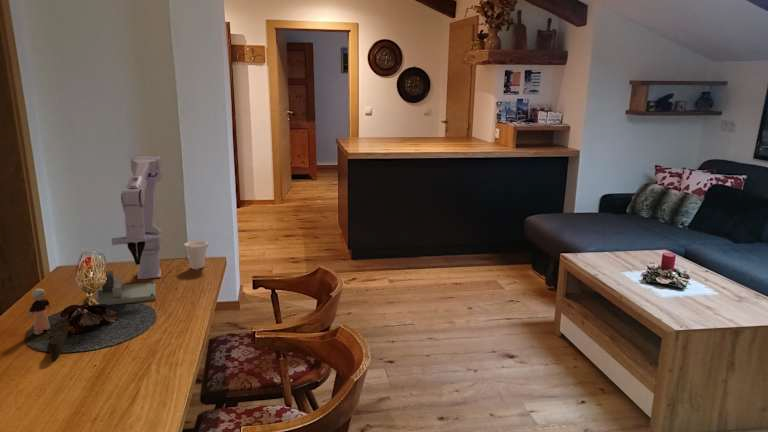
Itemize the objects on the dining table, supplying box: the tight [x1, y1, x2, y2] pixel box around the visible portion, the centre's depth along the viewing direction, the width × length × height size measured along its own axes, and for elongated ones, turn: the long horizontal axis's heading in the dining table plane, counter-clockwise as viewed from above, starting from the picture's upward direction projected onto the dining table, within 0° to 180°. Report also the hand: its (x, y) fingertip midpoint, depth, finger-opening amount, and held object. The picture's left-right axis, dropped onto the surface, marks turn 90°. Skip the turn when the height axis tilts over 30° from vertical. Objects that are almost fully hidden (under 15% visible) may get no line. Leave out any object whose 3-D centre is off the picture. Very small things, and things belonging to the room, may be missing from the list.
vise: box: [86, 281, 157, 306], centre depth 184 cm, size 13×20×5 cm, turn 112°
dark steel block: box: [101, 270, 115, 293], centre depth 184 cm, size 4×4×6 cm
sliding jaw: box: [112, 277, 124, 297], centre depth 183 cm, size 10×2×3 cm, turn 22°
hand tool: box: [48, 319, 69, 362], centre depth 149 cm, size 19×4×5 cm, turn 19°
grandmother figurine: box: [27, 287, 52, 335], centre depth 157 cm, size 8×4×13 cm, turn 179°
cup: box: [182, 240, 209, 270], centre depth 213 cm, size 9×9×10 cm
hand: (137, 263), depth 187 cm, fingers closed
